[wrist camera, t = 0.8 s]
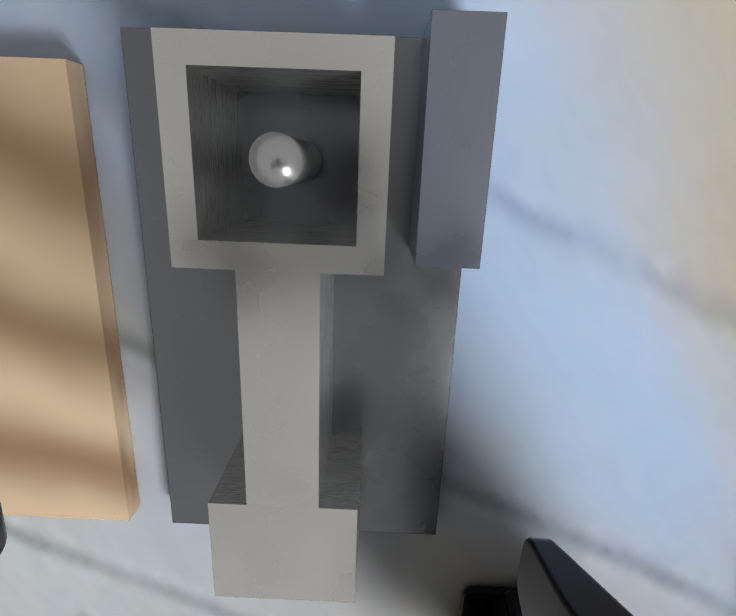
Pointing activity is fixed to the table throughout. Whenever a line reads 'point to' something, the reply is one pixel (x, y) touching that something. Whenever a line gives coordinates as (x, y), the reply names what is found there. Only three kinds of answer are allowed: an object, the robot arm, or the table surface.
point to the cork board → (57, 308)
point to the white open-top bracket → (276, 297)
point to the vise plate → (351, 292)
